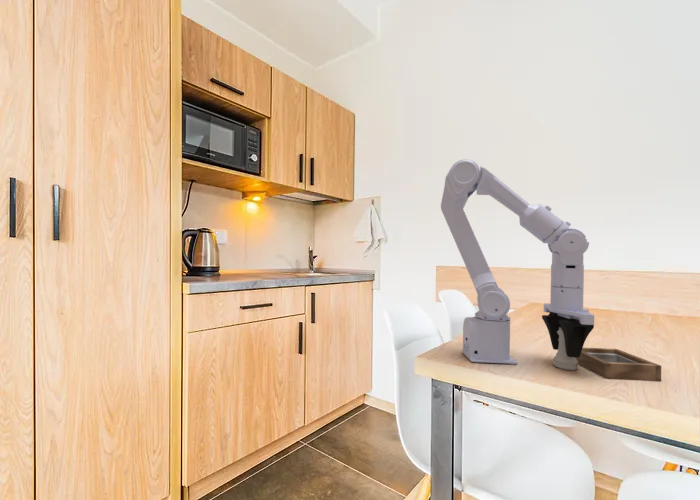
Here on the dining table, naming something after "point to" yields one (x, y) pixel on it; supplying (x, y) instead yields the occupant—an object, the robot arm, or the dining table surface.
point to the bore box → (618, 364)
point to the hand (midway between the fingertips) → (565, 353)
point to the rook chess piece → (564, 355)
